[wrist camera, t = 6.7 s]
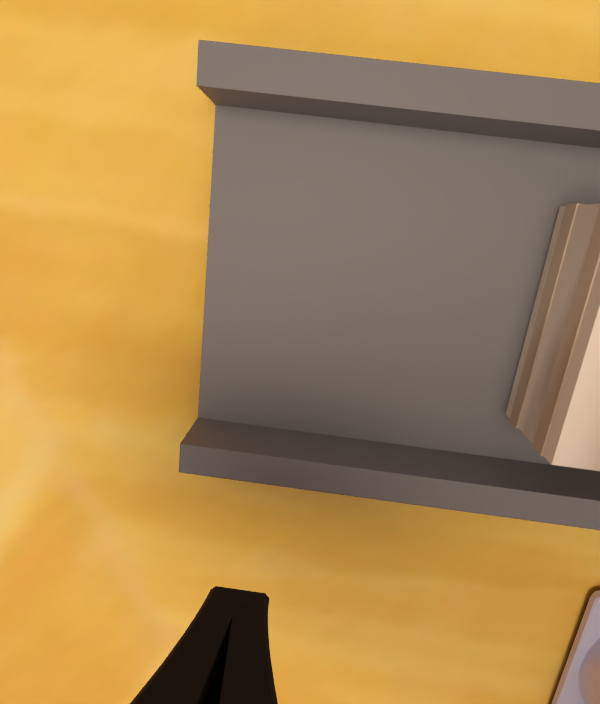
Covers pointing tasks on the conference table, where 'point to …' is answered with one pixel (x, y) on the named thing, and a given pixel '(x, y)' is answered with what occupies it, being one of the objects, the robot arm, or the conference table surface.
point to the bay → (383, 276)
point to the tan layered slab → (564, 347)
